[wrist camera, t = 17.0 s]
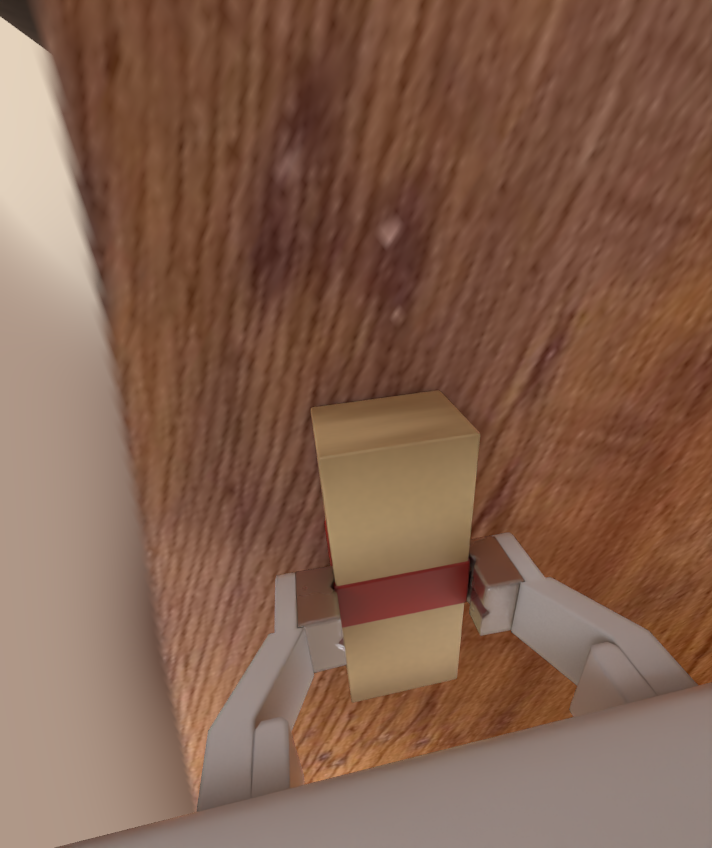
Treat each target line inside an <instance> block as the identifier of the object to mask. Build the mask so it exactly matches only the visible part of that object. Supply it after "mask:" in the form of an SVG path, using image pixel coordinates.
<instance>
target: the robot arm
mask: <svg viewBox="0 0 712 848" xmlns="http://www.w3.org/2000/svg"><path fill="white" fill-rule="evenodd" d="M469 560H470V572H469V582H468V592H467V602H468V603H470V610H469V614H470V616H471V618H472V620H473V622H474V624H475V626H476V628H477V630H478V632H479V634H480V636H482V635H487V634H492V633H498V632H503V631H508V630H511V632H512V633H513V634H515V635H516V636H517V637H518V638H519V639H521V640H522V641H523V642H524V643H526V644H527V645H528V646H529V647H530V648H532V649H533V650H534V651H535V652H537V653H538V654H539V655H540V656H541V657H543V658H544V659H545V660H546V661H548V662H549V663H550V664H551V665H552V666H554V667H555V668H556V669H557V670H559V671H560V672H561V673H562V674H563V675H565V676H566V677H567V678H568V679H570V680H571V681H572V682H573V683H574V684H576V685H577V688H576V690H575V693H574V696H573V699H572V702H571V705H570V709H569V710H570V712H571V713H572V715H573V717H571V718H567V719H563V720H559V721H555V722H552V723H548V724H544V725H540V726H536V727H532V728H528V729H524V730H520V731H516V732H512V733H508V734H504V735H500V736H496V737H492V738H488V739H484V740H480V741H476V742H472V743H468V744H464V745H460V746H456V747H452V748H448V749H444V750H440V751H436V752H432V753H428V754H424V755H420V756H416V757H412V758H408V759H404V760H400V761H396V762H393V763H389V764H385V765H381V766H377V767H373V768H369V769H365V770H361V771H357V772H353V773H349V774H345V775H341V776H337V777H333V778H329V779H325V780H321V781H317V782H313V783H309V784H305V785H304V774H303V771H302V767H301V764H300V761H299V757H298V754H297V750H296V747H295V743H294V740H293V736H292V733H291V731H292V729H293V726H294V724H295V721H296V719H297V717H298V714H299V712H300V709H301V707H302V704H303V702H304V699H305V697H306V694H307V692H308V689H309V687H310V685H311V682H312V680H313V677H314V673H316V672H320V671H324V670H328V669H332V668H336V667H340V666H344V665H347V661H346V652H345V645H344V638H343V630H342V624H341V617H340V610H339V603H338V596H337V593H336V592H335V591H334V582H335V578H334V572H333V566H328V567H322V568H316V569H309V570H303V571H297V572H292V573H286V574H280V575H277V576H276V580H275V633H271V634H268V636H267V638H266V639H265V641H264V642H263V644H262V646H261V647H260V649H259V650H258V652H257V654H256V655H255V657H254V658H253V660H252V662H251V663H250V665H249V666H248V668H247V670H246V671H245V673H244V674H243V676H242V678H241V679H240V681H239V682H238V684H237V686H236V687H235V689H234V690H233V692H232V694H231V695H230V697H229V698H228V700H227V702H226V703H225V705H224V706H223V708H222V710H221V711H220V713H219V714H218V716H217V718H216V719H215V721H214V722H213V724H212V726H211V727H210V729H209V730H208V736H207V742H206V749H205V756H204V763H203V770H202V777H201V784H200V791H199V798H198V804H197V811H196V812H194V813H190V814H187V815H182V816H179V817H175V818H171V819H167V820H163V821H159V822H155V823H151V824H147V825H143V826H139V827H135V828H131V829H127V830H123V831H119V832H115V833H111V834H107V835H103V836H99V837H95V838H91V839H88V840H83V841H79V842H75V843H72V844H68V845H64V846H60V847H56V848H712V682H710V683H706V684H702V685H699V686H698V685H697V684H696V682H695V681H694V680H693V679H692V678H691V677H690V676H689V675H688V674H687V672H686V671H685V670H684V669H683V668H682V667H681V666H680V665H679V664H678V662H677V661H676V660H675V659H674V658H673V657H672V656H671V655H670V654H669V652H668V651H667V650H666V649H665V648H664V647H663V646H662V645H661V644H660V642H659V641H658V640H657V639H656V638H655V637H654V636H653V635H652V634H651V632H650V631H648V630H647V629H645V628H643V627H641V626H639V625H638V624H636V623H634V622H632V621H630V620H628V619H627V618H625V617H623V616H621V615H619V614H617V613H616V612H614V611H612V610H610V609H608V608H607V607H605V606H603V605H601V604H599V603H597V602H596V601H594V600H592V599H590V598H588V597H586V596H585V595H583V594H581V593H579V592H577V591H575V590H574V589H572V588H570V587H568V586H566V585H565V584H563V583H561V582H559V581H557V580H555V579H554V578H552V577H547V578H545V577H544V575H543V574H542V573H541V571H540V570H539V569H538V567H537V566H536V565H535V563H534V562H533V561H532V559H531V558H530V557H529V555H528V554H527V553H526V551H525V550H524V549H523V547H522V546H521V545H520V543H519V542H518V541H517V540H516V538H515V537H514V536H513V534H511V533H510V532H507V533H502V534H496V535H492V536H485V537H480V538H475V539H470V547H469Z"/></svg>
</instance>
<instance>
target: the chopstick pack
mask: <svg viewBox="0 0 712 848" xmlns="http://www.w3.org/2000/svg"><path fill="white" fill-rule="evenodd" d="M310 411H311V419H312V426H313V433H314V440H315V447H316V455H317V462H318V469H319V476H320V483H321V491H322V498H323V505H324V512H325V519H326V520H325V522H324V524H325V531H326V539H327V546H328V553H329V560H330V566H333V572H334V578H335V582H334V591H335V592H336V593H337V596H338V603H339V610H340V617H341V624H342V630H343V638H344V645H345V652H346V661H347V665H346V668H347V674H348V681H349V688H350V695H351V701H352V702H353V703H354V702H358V701H362V700H367V699H371V698H375V697H380V696H384V695H389V694H393V693H397V692H402V691H406V690H410V689H415V688H419V687H423V686H428V685H432V684H436V683H441V682H445V681H449V680H454V679H457V672H458V662H459V651H460V641H461V631H462V620H463V610H464V603H465V602H466V601H467V592H468V582H469V572H470V560H469V547H470V537H471V527H472V516H473V506H474V495H475V485H476V475H477V464H478V454H479V443H480V433H479V431H478V430H477V429H476V428H475V427H474V426H473V425H472V424H471V423H470V422H469V421H468V420H467V419H466V418H465V417H464V416H463V414H462V413H461V412H460V411H459V410H458V409H457V408H456V407H455V406H454V405H453V404H452V403H451V402H450V401H449V400H448V399H447V397H446V396H445V395H444V394H443V393H442V392H441V391H440V390H436V391H429V392H421V393H414V394H407V395H399V396H392V397H385V398H377V399H370V400H363V401H355V402H348V403H341V404H333V405H326V406H319V407H312V408H311V409H310Z"/></svg>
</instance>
